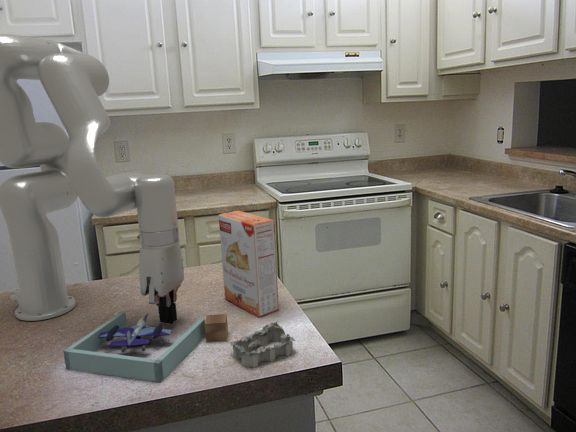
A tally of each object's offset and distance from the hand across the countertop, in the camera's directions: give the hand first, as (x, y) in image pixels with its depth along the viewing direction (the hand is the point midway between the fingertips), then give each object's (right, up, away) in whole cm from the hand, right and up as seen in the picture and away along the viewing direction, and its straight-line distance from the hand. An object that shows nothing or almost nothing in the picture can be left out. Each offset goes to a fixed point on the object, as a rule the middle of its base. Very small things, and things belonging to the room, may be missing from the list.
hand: (168, 321), depth 100 cm
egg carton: (+20, -4, -12) cm, 24 cm away
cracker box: (+16, +1, +10) cm, 19 cm away
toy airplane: (-4, -3, -6) cm, 8 cm away
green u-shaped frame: (-3, -3, -9) cm, 10 cm away
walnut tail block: (+11, -2, -5) cm, 12 cm away
